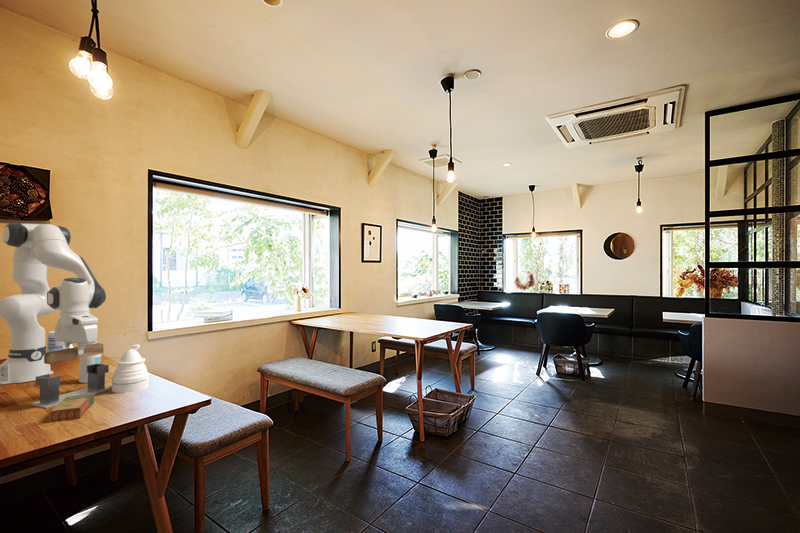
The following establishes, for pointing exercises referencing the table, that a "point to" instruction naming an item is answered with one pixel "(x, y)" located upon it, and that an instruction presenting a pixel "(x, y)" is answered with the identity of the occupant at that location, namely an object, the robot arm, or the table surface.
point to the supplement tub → (54, 343)
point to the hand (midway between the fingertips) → (75, 353)
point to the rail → (72, 353)
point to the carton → (72, 408)
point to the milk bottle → (83, 365)
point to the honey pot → (130, 373)
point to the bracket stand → (52, 397)
